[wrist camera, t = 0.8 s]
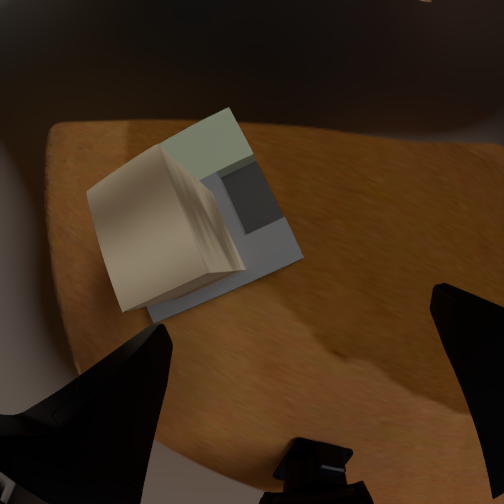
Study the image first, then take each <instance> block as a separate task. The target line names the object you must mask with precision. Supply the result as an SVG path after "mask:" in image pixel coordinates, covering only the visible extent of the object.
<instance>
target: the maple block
mask: <svg viewBox="0 0 504 504" xmlns="http://www.w3.org/2000/svg"><path fill="white" fill-rule="evenodd" d="M86 193H87V198H88V202H89V207H90V211H91V215H92V219H93V223H94V227H95V231H96V235H97V238H98V242H99V245H100V249H101V252H102V255H103V259H104V262H105V265H106V268H107V271H108V274H109V277H110V280H111V283H112V286H113V289H114V291H115V294H116V297H117V300H118V302H119V305H120V307H121V310H122V312H126V311H130V310H134V309H138V308H142V307H145V306H149V305H153V304H157V303H161V302H165V301H168V300H172V299H176V298H180V297H183V296H187V295H191V294H193V293H196V292H198V291H200V290H202V289H205V288H207V287H209V286H211V285H213V284H216V283H218V282H220V281H222V280H225V279H227V278H229V277H231V276H233V275H236V274H238V273H240V272H242V271H244V270H246V269H245V267H244V265H243V262H242V260H241V258H240V256H239V253H238V251H237V249H236V246H235V244H234V242H233V240H232V237H231V235H230V233H229V231H228V228H227V226H226V224H225V221H224V219H223V217H222V215H221V212H220V210H219V208H218V205H217V203H216V201H215V198H214V196H213V194H212V192H211V191H210V190H209V189H208V188H207V187H206V186H204V185H203V184H202V183H201V182H200V181H199V180H198V179H197V178H196V177H194V176H193V175H192V174H191V173H190V172H189V171H188V170H187V169H185V168H184V167H183V166H182V165H181V164H180V163H179V162H178V161H176V160H175V159H174V158H173V157H172V156H171V155H170V154H169V153H167V152H166V151H165V150H164V149H163V148H162V147H161V146H159V145H158V144H156V145H155V146H153V147H151V148H150V149H148V150H146V151H145V152H143V153H142V154H140V155H138V156H137V157H135V158H134V159H132V160H131V161H129V162H128V163H126V164H125V165H123V166H122V167H120V168H119V169H117V170H116V171H114V172H113V173H111V174H110V175H108V176H107V177H106V178H104V179H103V180H101V181H100V182H99V183H97V184H96V185H95V186H93V187H92V188H91V189H89V190H88V191H87V192H86Z"/></svg>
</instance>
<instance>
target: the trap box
mask: <svg viewBox="0 0 504 504" xmlns="http://www.w3.org/2000/svg"><path fill="white" fill-rule="evenodd" d="M158 145H159V146H161V147H162V148H163V149H164V150H165V151H166V152H167V153H169V154H170V155H171V156H172V157H173V158H174V159H175V160H176V161H178V162H179V163H180V164H181V165H182V166H183V167H184V168H185V169H187V170H188V171H189V172H190V173H191V174H192V175H193V176H194V177H196V178H197V179H198V180H199V181H200V182H201V183H202V184H203V185H204V186H206V187H207V188H208V189H209V190H210V191H211V192H212V194H213V196H214V198H215V201H216V203H217V205H218V208H219V210H220V212H221V215H222V217H223V219H224V221H225V224H226V226H227V228H228V231H229V233H230V235H231V237H232V240H233V242H234V244H235V246H236V249H237V251H238V253H239V256H240V258H241V260H242V262H243V265H244V267H245V269H246V270H244V271H242V272H240V273H238V274H236V275H233V276H231V277H229V278H227V279H225V280H222V281H220V282H218V283H216V284H213V285H211V286H209V287H207V288H205V289H202V290H200V291H198V292H196V293H193V294H191V295H187V296H183V297H180V298H176V299H172V300H168V301H165V302H161V303H157V304H153V305H149V306H146V307H147V309H148V311H149V314H150V316H151V319H152V321H153V323H156V322H158V321H161V320H164V319H166V318H168V317H171V316H173V315H176V314H178V313H180V312H183V311H185V310H187V309H190V308H192V307H194V306H197V305H199V304H201V303H204V302H206V301H208V300H211V299H213V298H215V297H218V296H220V295H222V294H225V293H227V292H229V291H231V290H234V289H236V288H238V287H240V286H243V285H245V284H247V283H250V282H252V281H254V280H256V279H258V278H261V277H263V276H265V275H267V274H270V273H272V272H274V271H276V270H278V269H281V268H283V267H285V266H287V265H289V264H292V263H294V262H296V261H298V260H300V259H302V258H304V257H303V255H302V252H301V250H300V248H299V246H298V244H297V242H296V239H295V237H294V235H293V233H292V231H291V229H290V227H289V225H288V222H287V220H286V218H285V217H284V216H283V214H282V212H281V210H280V208H279V206H278V204H277V202H276V200H275V198H274V196H273V194H272V192H271V190H270V188H269V186H268V184H267V182H266V180H265V178H264V176H263V174H262V172H261V170H260V168H259V166H258V164H257V162H256V159H255V157H254V154H253V152H252V150H251V148H250V146H249V144H248V142H247V140H246V139H245V137H244V135H243V133H242V131H241V129H240V127H239V125H238V124H237V122H236V120H235V118H234V116H233V114H232V113H231V111H230V109H229V108H227V109H224V110H223V111H220V112H218V113H216V114H214V115H212V116H210V117H208V118H206V119H204V120H202V121H200V122H198V123H196V124H194V125H192V126H190V127H189V128H187V129H185V130H183V131H181V132H179V133H178V134H176V135H174V136H172V137H170V138H169V139H167V140H165V141H163V142H162V143H160V144H158Z"/></svg>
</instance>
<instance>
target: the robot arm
mask: <svg viewBox="0 0 504 504" xmlns="http://www.w3.org/2000/svg"><path fill="white" fill-rule="evenodd" d="M430 312H431V315H432V317H433V320H434V322H435V325H436V328H437V330H438V333H439V336H440V339H441V341H442V344H443V347H444V349H445V351H446V354H447V356H448V358H449V360H450V363H451V365H452V367H453V369H454V372H455V374H456V376H457V379H458V381H459V384H460V386H461V388H462V391H463V394H464V396H465V399H466V401H467V404H468V407H469V410H470V413H471V415H472V418H473V421H474V424H475V427H476V431H477V434H478V437H479V441H480V444H481V448H482V452H483V456H484V460H485V464H486V468H487V472H488V477H489V482H490V487H491V493H492V497H493V499H495V498H497V497H498V496H500V495H502V494H503V493H504V307H502V306H499V305H497V304H495V303H492V302H490V301H488V300H485V299H483V298H481V297H478V296H476V295H473V294H471V293H469V292H466V291H464V290H461V289H459V288H456V287H454V286H452V285H449V284H447V283H441V284H437V285H435V286H434V288H433V292H432V297H431V303H430ZM172 350H173V344H172V340H171V338H170V336H169V334H168V332H167V329H166V327H165V325H164V324H162V323H156V324H151V325H149V326H148V327H146V328H145V329H144V330H142V331H141V332H140V333H138V334H137V335H135V336H134V337H133V338H131V339H130V340H128V341H127V342H126V343H124V344H123V345H122V346H120V347H119V348H117V349H116V350H115V351H113V352H112V353H110V354H109V355H108V356H106V357H105V358H104V359H102V360H101V361H99V362H98V363H97V364H95V365H94V366H92V367H91V368H90V369H88V370H87V371H85V372H84V373H83V374H81V375H80V376H79V377H78V378H76V379H74V380H73V381H72V382H70V383H69V384H67V385H66V386H64V387H63V388H62V389H60V390H59V391H57V392H55V393H54V394H52V395H51V396H49V397H48V398H46V399H44V400H43V401H41V402H39V403H38V404H36V405H34V406H33V407H31V408H29V409H28V410H26V411H24V412H22V413H19V414H15V415H1V414H0V504H140V503H141V497H142V492H143V486H144V481H145V477H146V472H147V467H148V462H149V458H150V453H151V448H152V444H153V440H154V436H155V432H156V427H157V423H158V419H159V415H160V411H161V407H162V403H163V399H164V395H165V391H166V387H167V382H168V376H169V369H170V363H171V356H172ZM298 442H302V443H298ZM347 453H349V454H347ZM352 455H353V450H352V449H348V448H343V447H340V446H336V445H332V444H327V443H323V442H316V441H312V440H309V439H305V438H297V439H296V440H295V441H294V443H293V444H292V446H291V448H290V449H289V451H288V452H287V454H286V455H285V457H284V458H283V460H282V461H281V463H280V464H279V466H278V467H277V469H276V470H275V472H274V473H273V477H274V478H275V479H279V480H282V481H284V486H283V492H278V493H271V492H264V495H263V497H262V498H261V499H260V502H259V504H374V503H373V500H372V498H371V496H370V494H369V492H368V490H367V488H366V486H365V484H364V482H363V481H359V482H357V483H354V484H349V485H347V480H346V475H345V472H346V468H345V465H346V463H347V462H348V461H349V459H350V458H351V457H352Z"/></svg>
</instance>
